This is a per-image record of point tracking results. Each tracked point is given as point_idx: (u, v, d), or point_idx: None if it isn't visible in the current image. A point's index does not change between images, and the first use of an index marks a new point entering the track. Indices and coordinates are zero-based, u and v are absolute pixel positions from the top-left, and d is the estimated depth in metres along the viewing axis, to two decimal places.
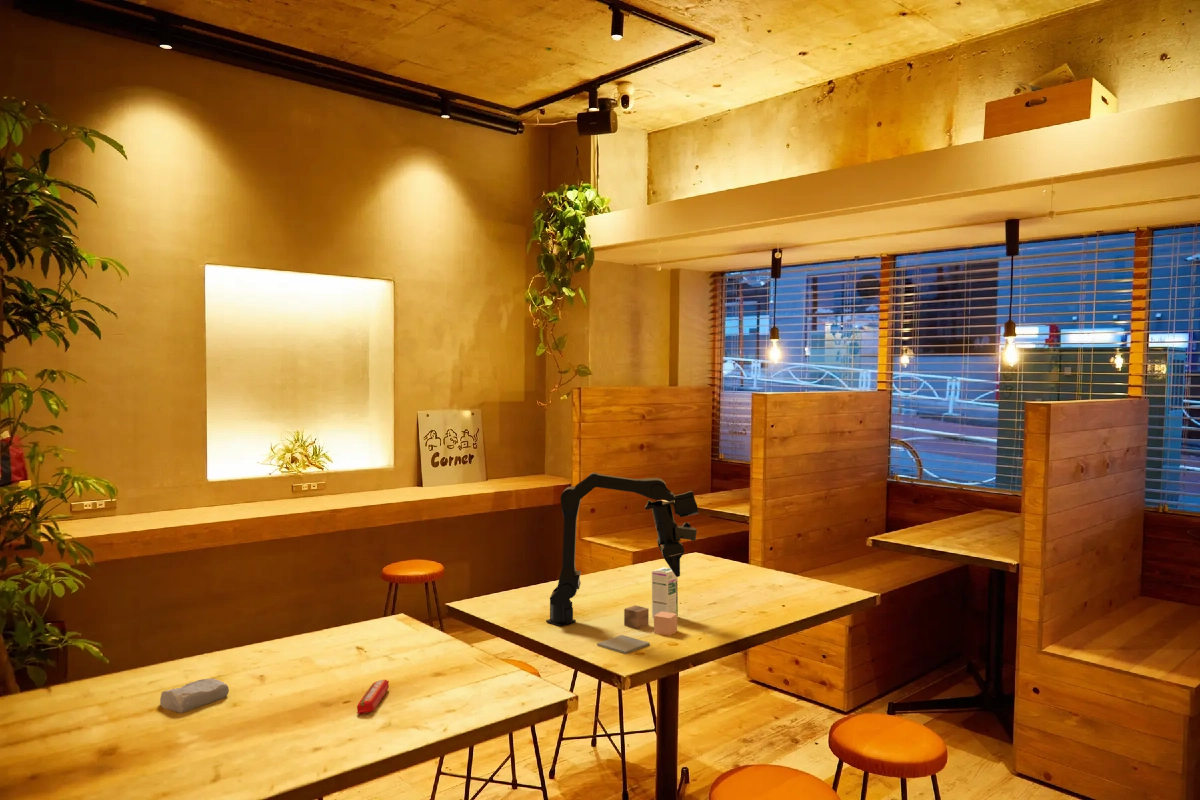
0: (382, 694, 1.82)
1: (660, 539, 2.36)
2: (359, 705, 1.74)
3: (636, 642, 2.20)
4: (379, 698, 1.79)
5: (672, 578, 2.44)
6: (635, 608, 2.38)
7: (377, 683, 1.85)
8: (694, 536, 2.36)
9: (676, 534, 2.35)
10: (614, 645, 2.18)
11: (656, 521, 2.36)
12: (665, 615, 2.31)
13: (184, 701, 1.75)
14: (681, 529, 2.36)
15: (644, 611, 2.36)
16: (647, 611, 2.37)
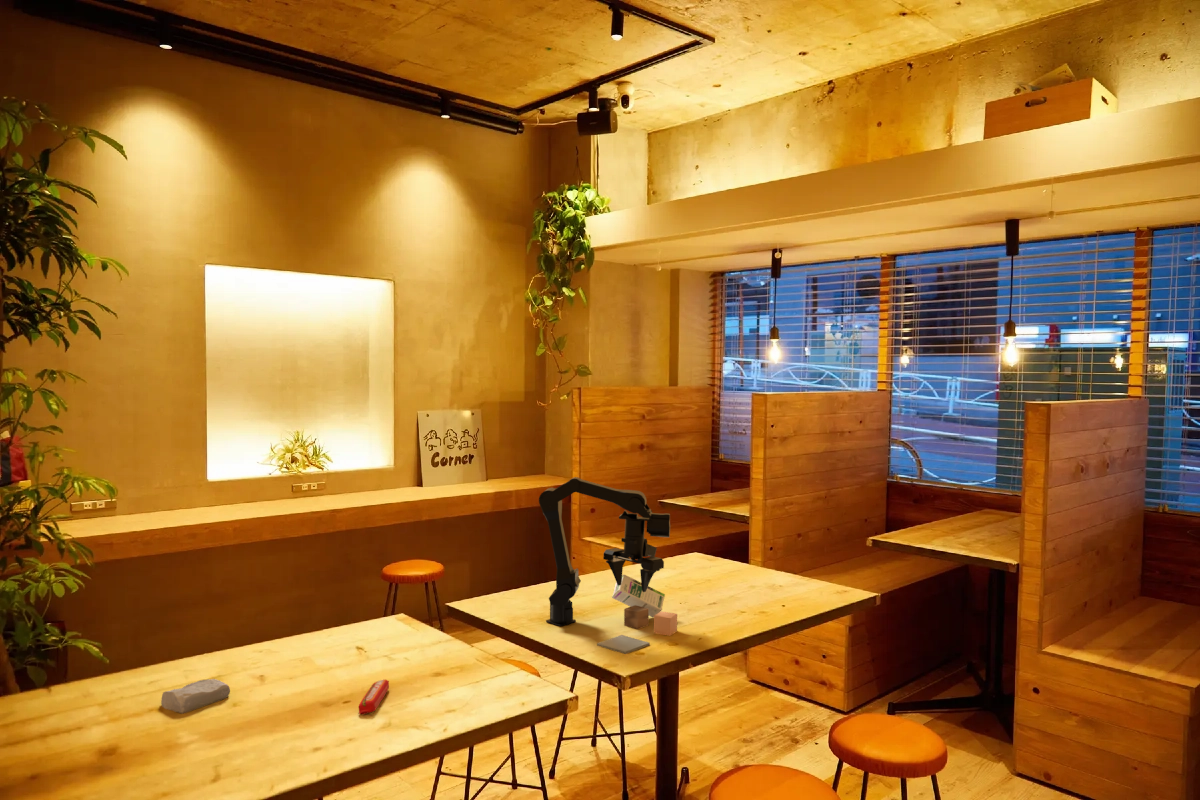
0: (383, 694, 1.82)
1: (632, 552, 2.34)
2: (361, 705, 1.74)
3: (636, 642, 2.20)
4: (380, 698, 1.79)
5: (628, 585, 2.41)
6: (635, 608, 2.38)
7: (377, 683, 1.85)
8: (655, 553, 2.41)
9: (646, 549, 2.37)
10: (614, 645, 2.18)
11: (626, 533, 2.35)
12: (665, 615, 2.31)
13: (185, 701, 1.74)
14: (648, 545, 2.38)
15: (644, 611, 2.36)
16: (647, 611, 2.37)
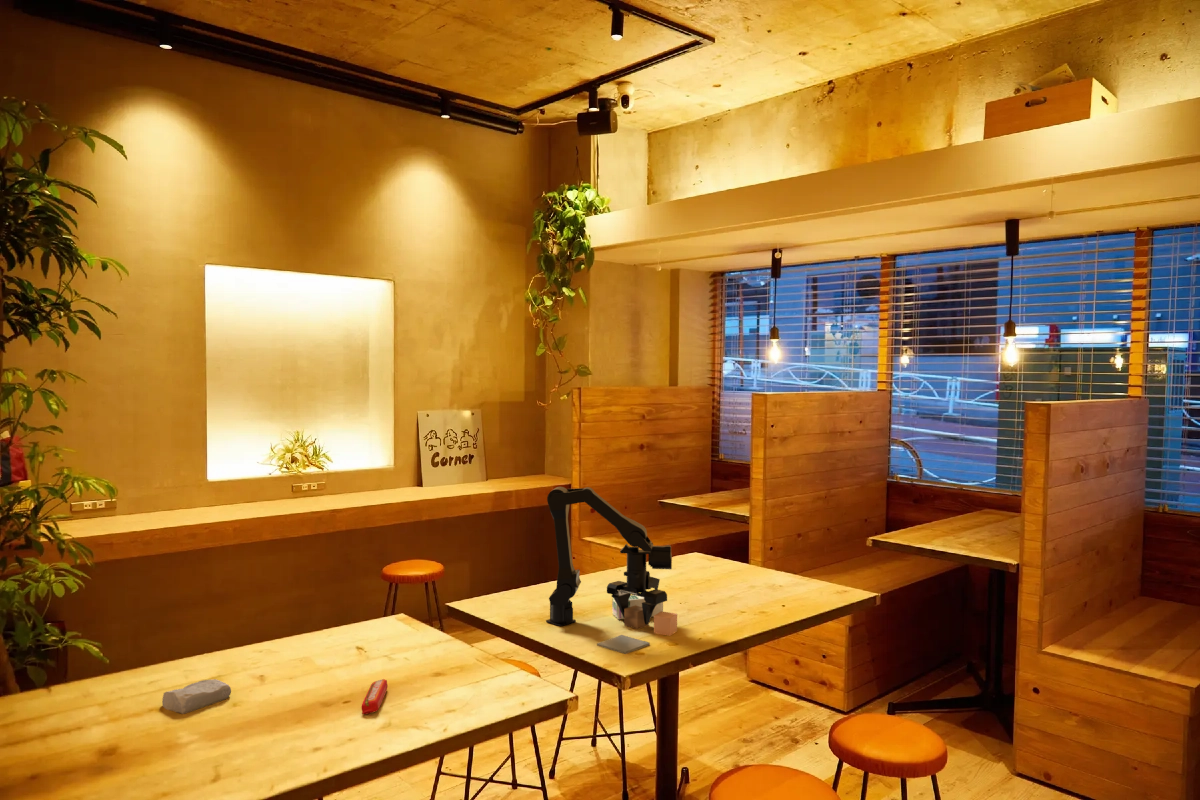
0: (383, 693, 1.82)
1: (634, 586, 2.34)
2: (364, 705, 1.74)
3: (636, 642, 2.20)
4: (381, 697, 1.79)
5: None
6: (635, 608, 2.38)
7: (377, 683, 1.85)
8: (658, 585, 2.41)
9: (649, 582, 2.37)
10: (614, 645, 2.18)
11: (628, 567, 2.36)
12: (665, 615, 2.31)
13: (186, 702, 1.74)
14: (651, 577, 2.39)
15: None
16: None
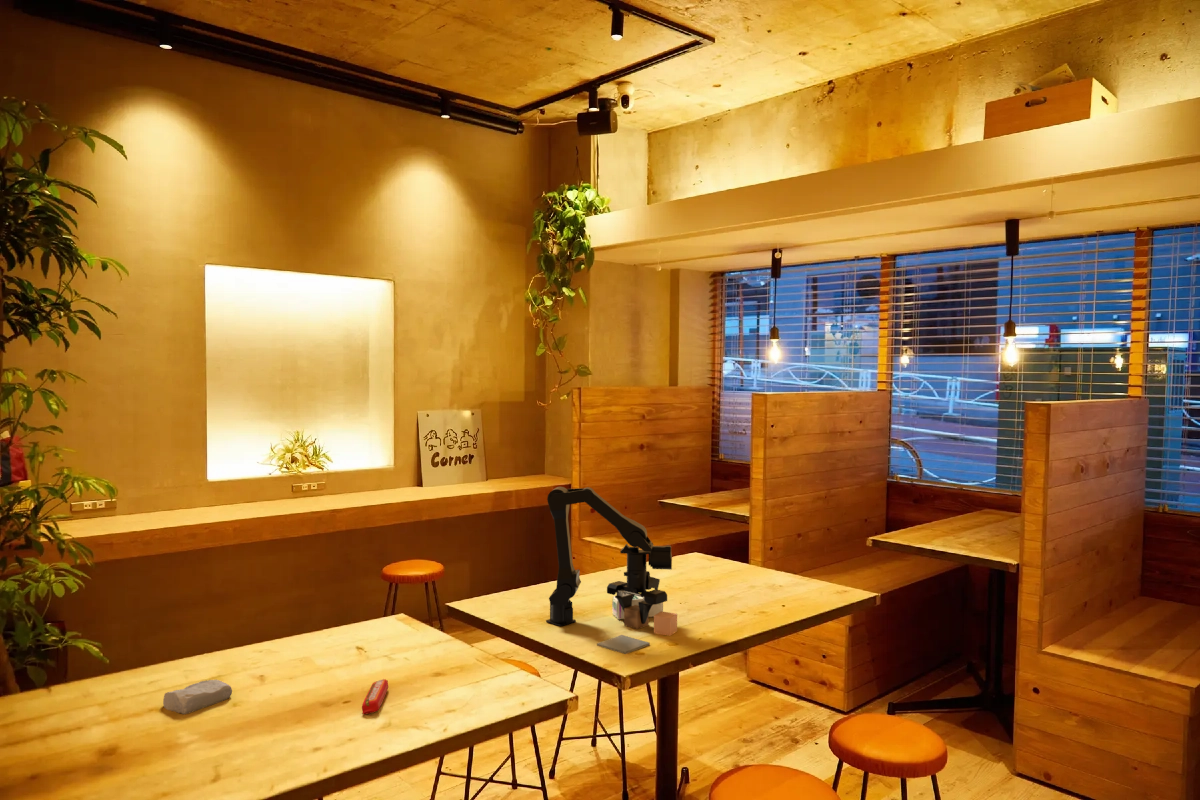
0: (384, 694, 1.82)
1: (635, 586, 2.34)
2: (364, 705, 1.74)
3: (636, 642, 2.20)
4: (382, 697, 1.79)
5: None
6: (635, 607, 2.38)
7: (377, 683, 1.85)
8: (658, 585, 2.41)
9: (649, 582, 2.37)
10: (614, 645, 2.18)
11: (628, 567, 2.36)
12: (665, 615, 2.31)
13: (187, 702, 1.74)
14: (651, 577, 2.39)
15: None
16: None
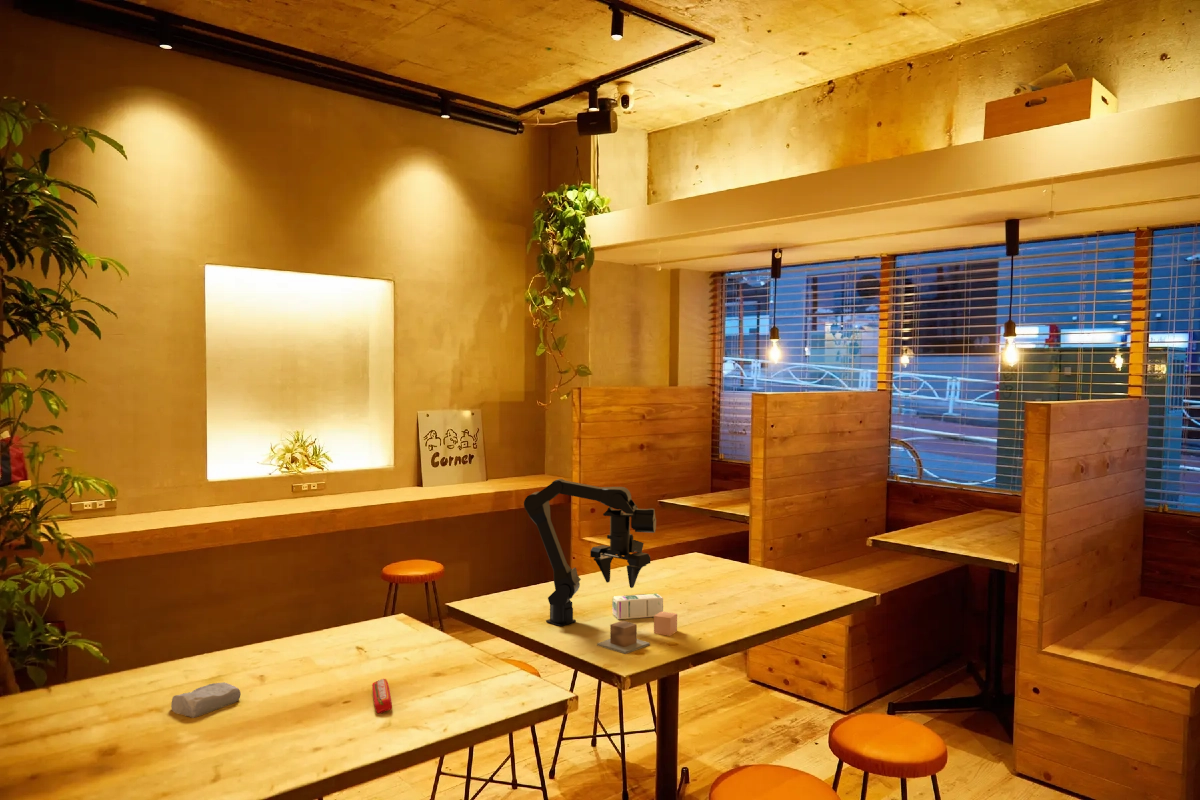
0: None
1: (618, 549, 2.33)
2: (378, 704, 1.74)
3: None
4: (390, 696, 1.80)
5: (622, 597, 2.46)
6: (622, 624, 2.20)
7: (380, 683, 1.85)
8: None
9: (632, 545, 2.36)
10: (614, 645, 2.18)
11: (611, 529, 2.35)
12: (665, 615, 2.31)
13: (196, 705, 1.72)
14: (634, 541, 2.38)
15: (632, 627, 2.18)
16: (635, 627, 2.19)
